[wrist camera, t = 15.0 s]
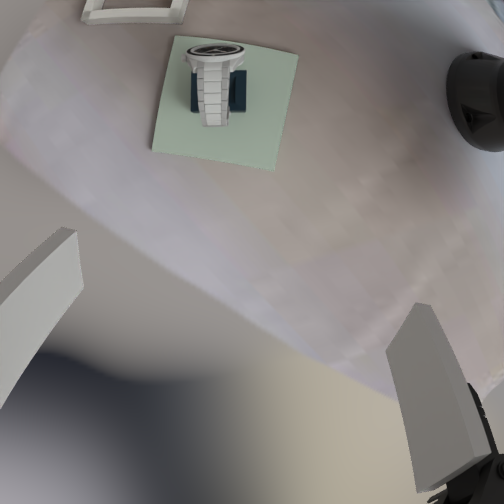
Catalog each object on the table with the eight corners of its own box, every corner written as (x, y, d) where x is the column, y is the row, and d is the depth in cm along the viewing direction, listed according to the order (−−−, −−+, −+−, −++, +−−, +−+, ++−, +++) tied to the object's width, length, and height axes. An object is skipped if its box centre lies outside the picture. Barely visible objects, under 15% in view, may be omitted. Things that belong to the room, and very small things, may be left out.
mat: (297, 56, 30) (298, 55, 29) (273, 170, 35) (273, 171, 34) (176, 37, 28) (175, 35, 27) (153, 150, 33) (151, 151, 32)
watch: (246, 59, 29) (250, 28, 19) (245, 128, 32) (249, 125, 22) (194, 60, 29) (176, 30, 18) (193, 128, 32) (174, 127, 21)
